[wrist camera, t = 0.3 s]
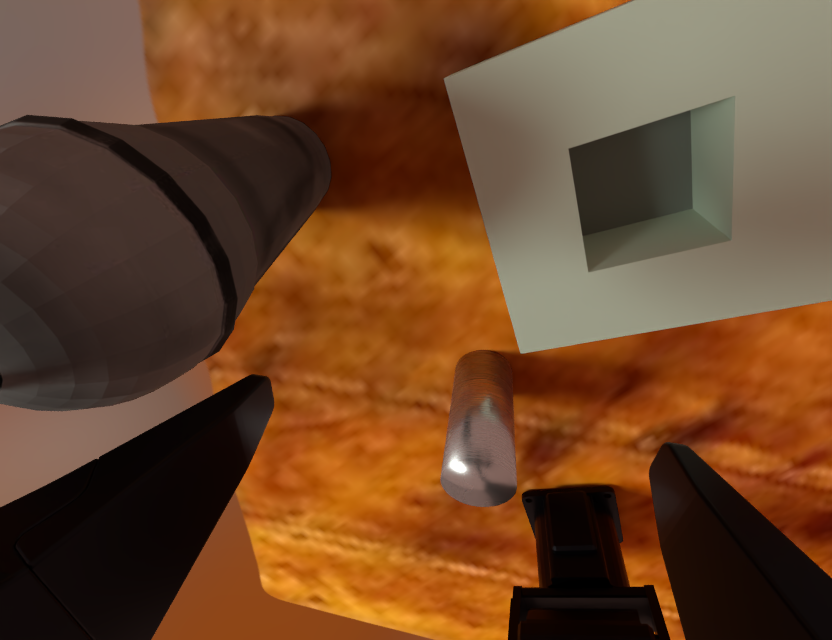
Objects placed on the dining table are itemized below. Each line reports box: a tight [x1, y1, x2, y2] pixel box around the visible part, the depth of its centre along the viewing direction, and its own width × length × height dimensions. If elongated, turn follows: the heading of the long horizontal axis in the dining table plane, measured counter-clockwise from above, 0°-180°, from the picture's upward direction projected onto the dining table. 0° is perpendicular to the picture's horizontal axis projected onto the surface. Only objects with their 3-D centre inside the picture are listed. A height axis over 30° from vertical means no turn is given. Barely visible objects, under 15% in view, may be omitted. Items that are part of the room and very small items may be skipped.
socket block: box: [444, 0, 832, 354], centre depth 16 cm, size 12×12×4 cm
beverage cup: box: [0, 115, 331, 411], centre depth 12 cm, size 7×7×20 cm
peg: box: [441, 350, 517, 507], centre depth 22 cm, size 4×4×8 cm
